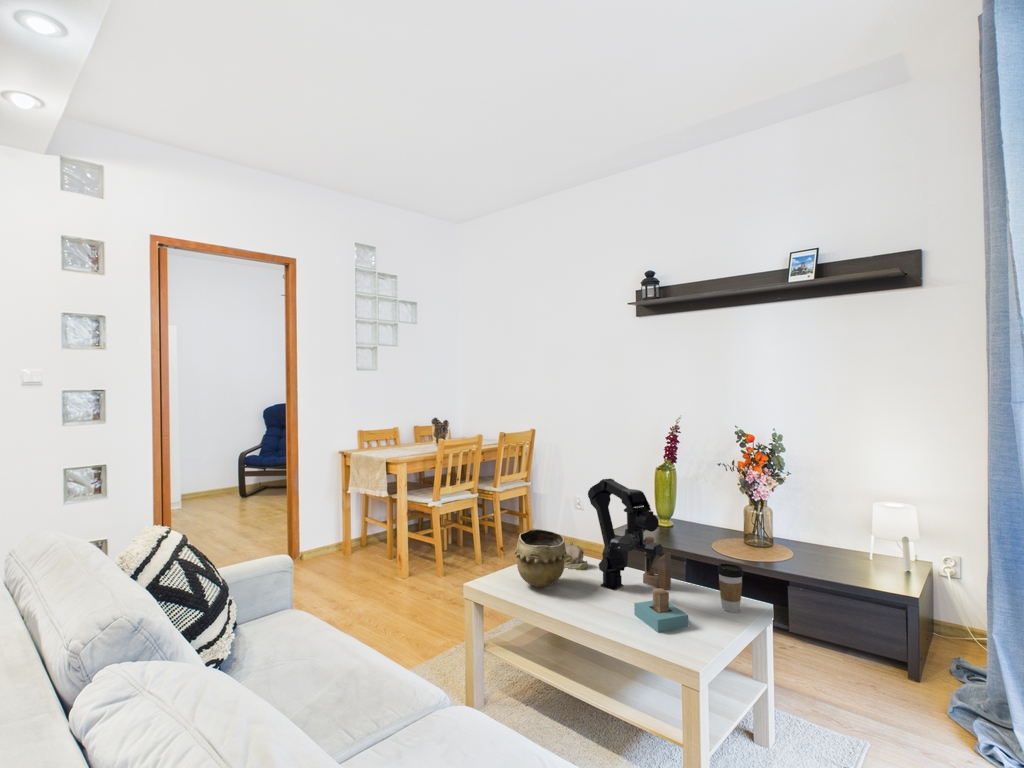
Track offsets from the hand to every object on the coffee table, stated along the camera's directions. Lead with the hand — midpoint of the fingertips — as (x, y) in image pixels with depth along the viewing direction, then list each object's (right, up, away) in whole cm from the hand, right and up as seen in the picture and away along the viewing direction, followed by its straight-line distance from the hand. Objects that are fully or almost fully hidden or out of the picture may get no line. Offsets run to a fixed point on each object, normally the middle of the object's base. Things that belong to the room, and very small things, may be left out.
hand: (636, 569), depth 199 cm
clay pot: (-34, -12, +17) cm, 40 cm away
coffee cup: (+32, -12, -6) cm, 34 cm away
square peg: (+5, -12, -16) cm, 20 cm away
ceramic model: (-19, -12, +41) cm, 47 cm away
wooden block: (+12, -12, +16) cm, 23 cm away
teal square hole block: (+4, -12, -16) cm, 20 cm away
